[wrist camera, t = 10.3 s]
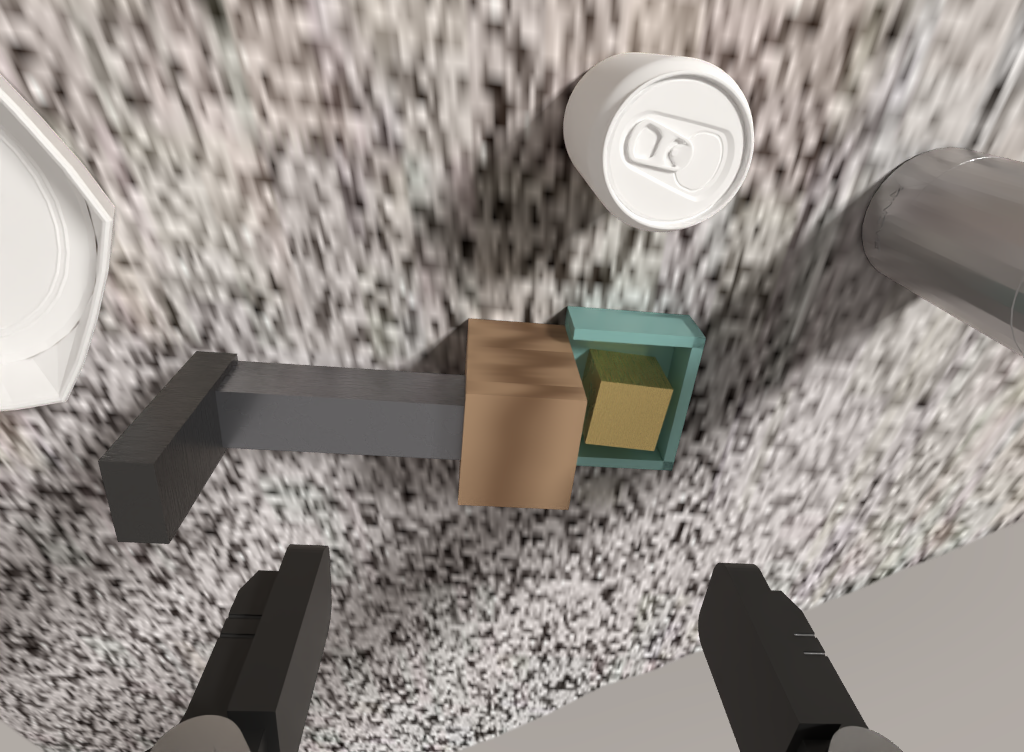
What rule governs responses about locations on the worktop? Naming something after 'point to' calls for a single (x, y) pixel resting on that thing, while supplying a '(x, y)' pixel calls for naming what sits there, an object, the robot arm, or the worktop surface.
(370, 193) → the worktop surface
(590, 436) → the block
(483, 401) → the block
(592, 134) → the beverage can
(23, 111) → the pan
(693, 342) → the tray
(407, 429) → the grey l-shaped block
